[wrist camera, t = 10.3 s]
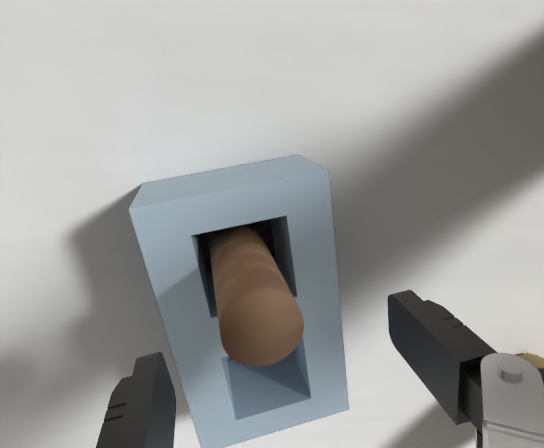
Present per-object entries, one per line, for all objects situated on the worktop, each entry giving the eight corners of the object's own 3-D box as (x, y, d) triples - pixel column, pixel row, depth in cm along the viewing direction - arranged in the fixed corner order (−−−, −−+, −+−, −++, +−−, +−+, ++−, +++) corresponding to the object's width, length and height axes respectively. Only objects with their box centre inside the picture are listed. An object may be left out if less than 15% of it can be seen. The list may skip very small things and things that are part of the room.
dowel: (252, 205, 21) (299, 284, 12) (259, 249, 22) (308, 353, 13) (202, 215, 21) (212, 305, 12) (212, 260, 22) (229, 375, 13)
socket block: (298, 154, 21) (328, 170, 16) (321, 355, 26) (349, 409, 22) (142, 183, 20) (128, 209, 15) (200, 388, 25) (202, 453, 20)
